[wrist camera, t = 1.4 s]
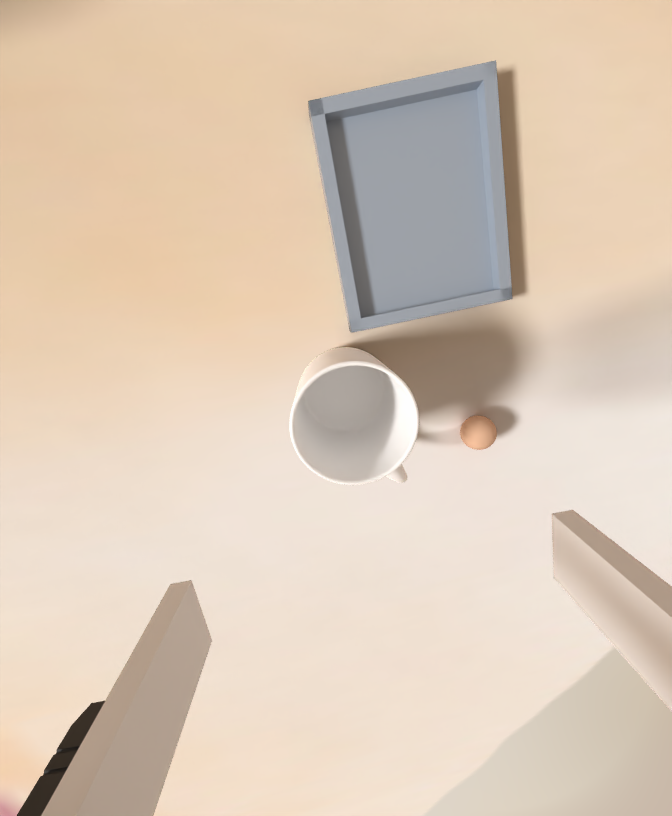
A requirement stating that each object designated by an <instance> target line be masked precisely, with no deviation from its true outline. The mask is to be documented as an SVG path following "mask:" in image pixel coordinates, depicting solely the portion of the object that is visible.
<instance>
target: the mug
mask: <svg viewBox="0 0 672 816" xmlns="http://www.w3.org/2000/svg"><path fill="white" fill-rule="evenodd" d="M289 427H290V435H291V440H292V443H293V446H294V448H295V450H296V452H297V454H298V456H299V457H300V459H301V460H302V461H303V463H304V464H305V465H306V466H307V467H308V468H309V469H310V470H312V471H313V472H314V473H315V474H317V475H319V476H320V477H322V478H324V479H326V480H329V481H331V482H335V483H338V484H344V485H362V484H367V483H371V482H374V481H377V480H379V479H382V478H384V477H388V478H390V479H391V480H393V481H395V482H399V483H403V482H405V481H406V480H407V474H406V472H405V470H404V468H403V466H402V463H403V462H404V461H405V460H406V458H407V457H408V456H409V454H410V452H411V451H412V449H413V447H414V444H415V442H416V439H417V435H418V430H419V412H418V407H417V403H416V400H415V398H414V396H413V394H412V392H411V390H410V389H409V387H408V386H407V384H406V383H405V382H404V381H403V380H402V379H401V378H400V377H399V376H398V375H397V374H396V373H394V372H393V371H392V370H390V369H389V368H388V367H387V366H385V365H384V364H383V363H382V362H380V361H379V360H378V359H377V358H375V357H374V356H373V355H371V354H369V353H367V352H366V351H363V350H360V349H357V348H352V347H339V348H334V349H330V350H327V351H325V352H323V353H321V354H320V355H318V356H317V357H316V358H315V359H313V360H312V361H311V362H310V364H309V365H308V366H307V367H306V369H305V370H304V372H303V374H302V376H301V379H300V382H299V385H298V388H297V392H296V395H295V398H294V402H293V405H292V409H291V414H290V424H289Z"/></svg>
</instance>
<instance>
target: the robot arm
mask: <svg viewBox="0 0 672 816" xmlns="http://www.w3.org/2000/svg"><path fill="white" fill-rule="evenodd" d="M552 540H553V572H554V579H555V580H556V581H557V582H558V583H559V584H560V586H561V587H562V588H563V589H564V590H565V591H566V592H567V594H568V595H569V596H570V597H571V598H572V599H573V600H574V601H575V603H576V604H577V605H578V606H579V607H580V608H581V609H582V611H583V612H584V613H585V614H586V615H587V616H588V617H589V618H590V620H591V621H592V622H593V623H594V624H595V625H596V626H597V628H598V629H599V630H600V631H601V632H602V633H603V634H604V635H605V637H606V638H607V639H608V640H609V641H610V642H611V643H612V645H613V646H614V647H615V648H616V649H617V650H618V651H619V652H620V654H621V655H622V656H623V657H624V658H625V659H626V660H627V661H628V662H629V664H630V665H631V666H632V667H633V668H634V669H635V670H636V672H637V673H638V674H639V675H640V676H641V677H642V679H643V680H644V681H645V682H646V683H647V684H648V685H649V686H650V688H651V689H652V690H653V691H654V692H655V693H656V694H657V696H658V697H659V698H660V699H661V700H662V701H663V702H664V703H665V705H666V706H667V707H668V708H669V709H670V710H671V711H672V586H670V585H669V584H668V583H666V582H665V581H664V580H663V579H661V578H660V577H659V576H657V575H656V574H655V573H653V572H652V571H651V570H650V569H648V568H647V567H646V566H644V565H643V564H642V563H641V562H639V561H638V560H637V559H635V558H634V557H633V556H632V555H630V554H629V553H628V552H626V551H625V550H624V549H623V548H621V547H620V546H619V545H617V544H616V543H615V542H614V541H612V540H611V539H610V538H608V537H607V536H606V535H605V534H603V533H602V532H601V531H599V530H598V529H597V528H596V527H594V526H593V525H592V524H590V523H589V522H588V521H587V520H585V519H584V518H583V517H581V516H580V515H579V514H578V513H576V512H575V511H574V510H570V511H564V512H559V513H553V514H552ZM211 642H212V639H211V636H210V633H209V630H208V627H207V624H206V622H205V619H204V616H203V613H202V610H201V607H200V604H199V601H198V598H197V595H196V592H195V589H194V586H193V584H192V581H185V582H180V583H174V584H170V586H169V588H168V590H167V591H166V593H165V595H164V597H163V599H162V600H161V602H160V604H159V606H158V608H157V609H156V611H155V613H154V615H153V617H152V618H151V620H150V622H149V624H148V625H147V627H146V629H145V631H144V633H143V634H142V636H141V638H140V640H139V642H138V643H137V645H136V647H135V649H134V650H133V652H132V654H131V656H130V658H129V659H128V661H127V663H126V665H125V667H124V668H123V670H122V672H121V674H120V676H119V677H118V679H117V681H116V683H115V684H114V686H113V688H112V690H111V692H110V693H109V695H108V697H107V699H106V701H101V702H96V703H91V704H90V706H89V707H88V708H87V709H86V710H85V711H84V712H83V713H82V714H81V715H80V717H79V718H78V719H77V720H76V721H75V722H74V723H73V724H72V726H71V727H70V729H69V730H68V732H67V734H66V735H65V737H64V739H63V740H62V742H61V744H60V745H59V747H58V749H57V753H56V754H55V755H53V757H52V758H51V760H50V762H49V763H48V765H47V767H46V768H45V770H44V774H43V776H41V777H40V778H39V780H38V781H37V783H36V785H35V786H34V788H33V790H32V791H31V793H30V795H29V796H28V798H27V800H26V801H25V803H24V805H23V806H22V808H21V809H20V811H19V813H18V814H17V816H153V815H154V812H155V809H156V806H157V803H158V800H159V797H160V794H161V791H162V788H163V785H164V782H165V779H166V776H167V773H168V770H169V767H170V764H171V761H172V758H173V755H174V752H175V749H176V746H177V743H178V740H179V737H180V734H181V731H182V728H183V725H184V722H185V719H186V716H187V714H188V711H189V708H190V705H191V702H192V699H193V696H194V693H195V690H196V687H197V684H198V681H199V678H200V675H201V672H202V669H203V666H204V663H205V660H206V657H207V654H208V651H209V648H210V645H211Z"/></svg>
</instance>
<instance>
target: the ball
mask: <svg viewBox="0 0 672 816" xmlns="http://www.w3.org/2000/svg"><path fill="white" fill-rule="evenodd" d="M460 435H461V438H462V440H463V442H464V443H465V444H466V445H467V446H468V447H470V448H472V449H477V450H481V449H486V448H488V447H490V446H491V445H492V444H493V443H494V441H495V439H496V436H497V430H496V427H495V425H494V423H493V422H492V421H491V420H490V419H488V418H486V417H484V416H472V417H470V418H468V419H467V420H465V421H464V423H463V424H462V426H461V430H460Z"/></svg>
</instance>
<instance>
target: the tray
mask: <svg viewBox="0 0 672 816" xmlns="http://www.w3.org/2000/svg"><path fill="white" fill-rule="evenodd" d="M308 104H309V116H310V122H311V127H312V132H313V138H314V143H315V148H316V154H317V159H318V164H319V170H320V175H321V180H322V186H323V191H324V196H325V201H326V207H327V212H328V217H329V223H330V228H331V233H332V239H333V244H334V249H335V255H336V260H337V265H338V271H339V276H340V281H341V286H342V292H343V297H344V302H345V308H346V313H347V318H348V324H349V329H350V332H357V331H362V330H366V329H371V328H376V327H381V326H385V325H390V324H395V323H400V322H405V321H409V320H414V319H419V318H424V317H428V316H433V315H438V314H443V313H448V312H452V311H457V310H462V309H467V308H471V307H476V306H481V305H486V304H491V303H495V302H500V301H505V300H510V299H512V285H511V271H510V256H509V242H508V227H507V213H506V198H505V184H504V170H503V155H502V141H501V126H500V112H499V97H498V83H497V68H496V61H491V62H487V63H482V64H477V65H473V66H468V67H464V68H459V69H454V70H450V71H445V72H440V73H436V74H431V75H426V76H422V77H417V78H413V79H408V80H403V81H399V82H394V83H389V84H385V85H380V86H375V87H371V88H366V89H361V90H357V91H352V92H348V93H343V94H338V95H334V96H329V97H324V98H320V99H315V100H310V101H308Z"/></svg>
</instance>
